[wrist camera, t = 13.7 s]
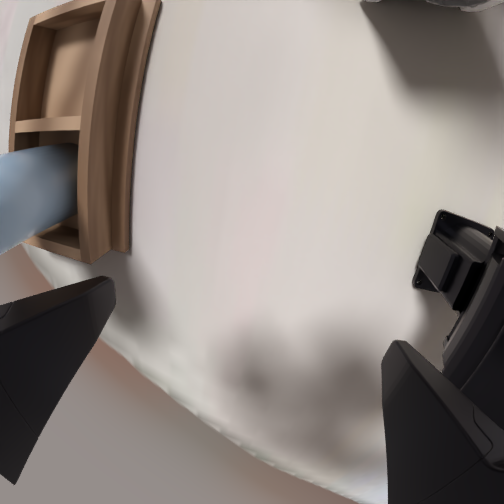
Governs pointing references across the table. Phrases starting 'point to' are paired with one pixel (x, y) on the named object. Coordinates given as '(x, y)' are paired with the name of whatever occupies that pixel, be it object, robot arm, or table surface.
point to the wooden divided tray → (85, 111)
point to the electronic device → (463, 4)
